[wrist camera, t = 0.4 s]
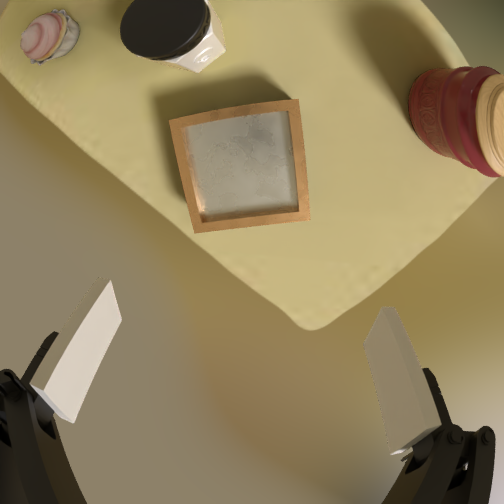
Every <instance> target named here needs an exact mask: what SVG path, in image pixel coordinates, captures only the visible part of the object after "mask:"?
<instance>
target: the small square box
mask: <svg viewBox="0 0 504 504" xmlns="http://www.w3.org/2000/svg"><path fill="white" fill-rule="evenodd" d="M169 125H170V130H171V135H172V140H173V144H174V149H175V154H176V158H177V163H178V167H179V172H180V176H181V180H182V185H183V189H184V193H185V197H186V201H187V205H188V209H189V213H190V217H191V221H192V225H193V229H194V233H202V232H210V231H218V230H226V229H234V228H243V227H252V226H260V225H269V224H279V223H288V222H298V221H308V220H310V207H309V193H308V181H307V170H306V159H305V149H304V140H303V131H302V123H301V115H300V107H299V99H291V100H280V101H271V102H262V103H254V104H247V105H240V106H234V107H228V108H223V109H217V110H212V111H207V112H202V113H197V114H193V115H188V116H184V117H180V118H176V119H172V120H169Z"/></svg>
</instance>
